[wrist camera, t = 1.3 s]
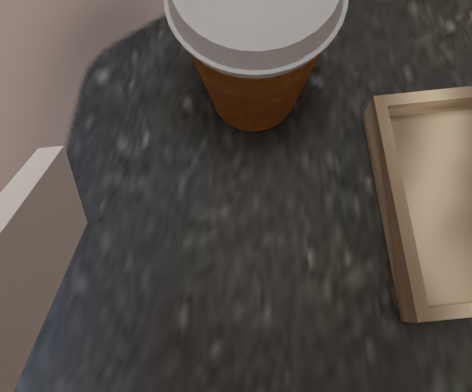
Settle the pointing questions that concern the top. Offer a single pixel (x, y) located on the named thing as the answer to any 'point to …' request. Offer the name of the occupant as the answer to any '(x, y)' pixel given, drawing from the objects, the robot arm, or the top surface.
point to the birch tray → (425, 197)
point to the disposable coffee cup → (255, 51)
